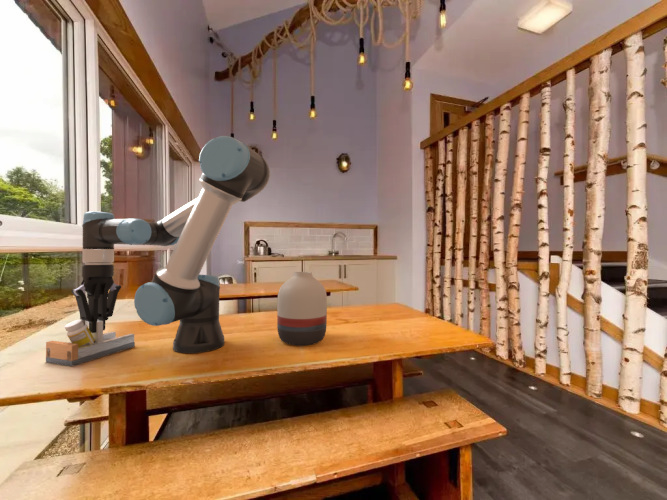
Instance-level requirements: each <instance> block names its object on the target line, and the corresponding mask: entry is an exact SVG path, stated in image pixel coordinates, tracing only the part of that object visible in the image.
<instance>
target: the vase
mask: <svg viewBox="0 0 667 500" xmlns="http://www.w3.org/2000/svg"><path fill="white" fill-rule="evenodd" d="M278 289H279V291H278V292H277V293H278V294H277V309H276V311H277V312H276V313H277V320H276V321H277V322H276V323H277V327H276V329H277V333H278V337H279V340H280V341H281V342H283V344H284V343H285V344H286V345H287V344H288V345H290V346H296V347H297V346H298V347H299V346H300V347H301V346H304V347H305V346H312V345H315V344H318V343H320V342H321V341H323V340H324V338H325V335H326V332H327V324H328V323H327V317H328V316H327V314H328V313H327V312H328V311H327V310H328V307H327V306H328V305H327V304H328V303H327V302H328V298H327V297H328V296H327V291H326V288H325V286H324V285H323V283H321V282H320V281H319V280H318V279H317V278H315V276H314V275H313V273H312V272H311V271H294V272H292V276H291V277H290V278H288V279H287V280H285V282H284V283H283V284H282V285H281V286H280V288H278Z"/></svg>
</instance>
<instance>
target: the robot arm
mask: <svg viewBox="0 0 667 500" xmlns="http://www.w3.org/2000/svg"><path fill="white" fill-rule="evenodd" d="M198 157H199V159H198V163H199V167H200V170H201V172H202V173H201V175H200V177H199V182H200V184H201V188H202V189H201V190H200V192H199V194H198V196H197V197H195V198H194V199H192V200H191V201H189V202H187V203H186V204H183V206H181V207H180V208H179V207H178V208H177V209H176V210H174V211H172V212H171V213H170V214H169V215H166V216H165V217H163V218H162V219H159V220H158V221H150V220H149V221H147V220H144V219H143V218H133V217H129V218H128V217H127V218H115V215H114V213H113V212H112V213H111V212H107V211H106V212H105V211H87V212H85V213H84V214H83V219H82V225H81V226H82V263H83V265H82V266H81V277H82V282H80V283H81V284H80V286H78V287H77V288H73V289H71V293H72V295H73V296H74V297H75V301H76V304H77V309H78V311H79V315H80V319H81V320H82V321H83V322H88V328H89V330H90V332H91V334H92V335H93V337H94V339H95V341H96V343H98V342H101V341H103V334H104V331H105V330H106V321H108V320H109V318H111V317H113V315H114V310H115V306H116V303H117V302H116V301H117V298H118V295H119V292H120V290H121V288H122V285H119V284H116V283H115V280H114V279H113V277H114V273H115V271H114V270H115V268H114V267H115V266H114V265H113V263H114V262H115V245H130V246H133V245H134V246H135V245H136V246H137V245H138V246H139V245H140V246H161V247H168V246H174V245H175V246H174V248H173V250H172V252H171V254H170V256H169V259H168V261H167V264H166V265H165V266H164V267H163V266H162V267H160V268H158V269H157V270H156V271H155V274H154V276H153V277H152V280H151V282H149V281H148V282H146V283H144V284H142V285H140V286H139V287H138V288H137V290H136V291H135V294H134V299H133V300H134V301H133V303H134V308H135V309H136V313H137V315H138V317H139V318H140V320H141V321H142V322H144V323H145V324H147V325H149V326H152V327H153V326H154V327H159V326H163V325H170V324H171V323H174V322H175V323H176V322H178V321H179V325H178V328H177V330H176V332H175V333H176V334H175V338H174V339H173V343H172V349H173V351H174V352H177V353H181V354H197V353H205V352H210V351H215V350H218V349H220V348H221V347H223V346H224V345H225V335H224V334H223V333H224V332H223V329H222V325H221V323H220V289H221V286H220V279H219V277H218V276H216V275H212V274H201V272H202V269H203V267H204V265H205V262H206V261H207V259H208V256H209V255H210V254H211V250H212V248H213V247H214V244H215V242H216V239H217V238H218V236H219V234H220V232H221V230H222V228H223V226H224V223H225V221H226V219H227V217H228V216H229V213H230V211H231V209H232V207H233V205H235V204H236V203H238V202H242V203H245V202H246V201H248V200H250V199H252V198H253V197H255V196H256V195H258V194H259V193H261V192H262V191H263V190H264V188H266V187H267V184H268V183H269V180H270V177H271V176H270V175H271V171H270V166H269V164H268V162H267V160H266V159H265V158H264V157H263V156H262V155H261V154H259V153H258V152H256V151H254V150H253V149H252V148H251V147H249V146H248V145H246V144H245V143H244V142H242V141H240V140H239V139H236V138H234V137H233V136H228V135H220V136H217V137H214V138H212V139H210V140H208V141H207V143H205V144H204V146H203V147H202V148H201V150H200V153H199V156H198Z"/></svg>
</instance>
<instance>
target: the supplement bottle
mask: <svg viewBox="0 0 667 500" xmlns="http://www.w3.org/2000/svg"><path fill="white" fill-rule="evenodd" d="M64 329H65V331H67V333H66V336H67V337H68V339H69V342H71V343H74V344H78V348H79V347H83V346H87V345H90V344H94V343H96V341H95V339H94V337H93V335H92V334H91V332H90V330H89V325H87V324H85V323H84V320H81V318H79V319H75V320H72V321H70V322H69V323H67V324H65V325H64Z"/></svg>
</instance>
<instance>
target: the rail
mask: <svg viewBox="0 0 667 500" xmlns="http://www.w3.org/2000/svg"><path fill="white" fill-rule="evenodd" d="M116 333H117V332H116V331H109V332H105V333H104V332H103V341H101V342H98V343H94V344H90V345H87V346H83V347H79V348H78V344H74V343H71V341H69V342H66V341H59V340H58V341H57V340H50V341H45V363H47V364H53V365H58V366H59V365H60V366H66V367H74V366H77V365H82V364H85V363H88V362H91V361H95V360H97V359H100V358H103V357H106V356H109V355H112V354H116V353H119V352H122V351H125V350H129V349H132V348H135V347H136V346H135V345H136V341H135V333H128V334H123V335H121V336H116V335H117V334H116Z"/></svg>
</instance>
